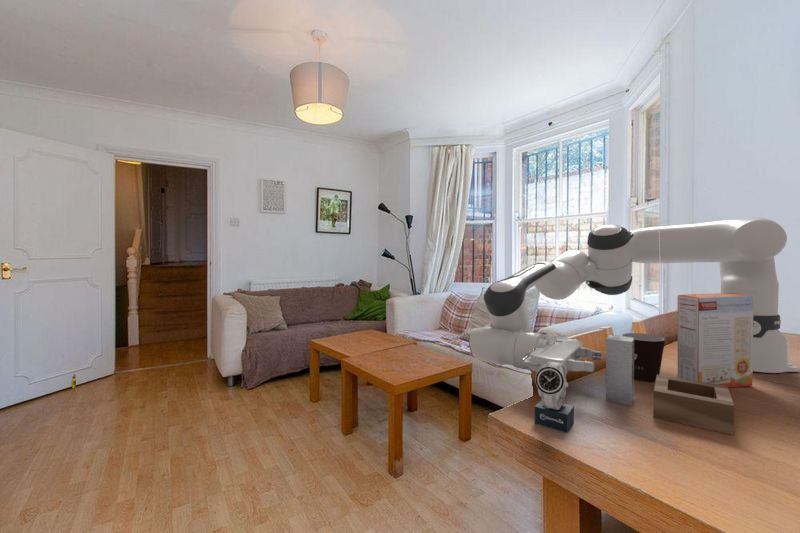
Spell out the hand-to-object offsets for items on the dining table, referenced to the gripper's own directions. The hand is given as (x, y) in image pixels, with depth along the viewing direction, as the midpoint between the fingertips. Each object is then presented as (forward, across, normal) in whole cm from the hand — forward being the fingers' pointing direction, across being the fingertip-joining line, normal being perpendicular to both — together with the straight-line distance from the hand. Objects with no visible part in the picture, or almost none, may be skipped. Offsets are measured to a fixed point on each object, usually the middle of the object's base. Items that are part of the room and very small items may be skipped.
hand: (598, 361), depth 77 cm
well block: (+15, 0, +8) cm, 17 cm away
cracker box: (+20, +23, +8) cm, 32 cm away
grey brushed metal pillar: (+4, 0, +8) cm, 9 cm away
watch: (-4, -19, +8) cm, 21 cm away
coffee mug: (+6, +20, +8) cm, 22 cm away
